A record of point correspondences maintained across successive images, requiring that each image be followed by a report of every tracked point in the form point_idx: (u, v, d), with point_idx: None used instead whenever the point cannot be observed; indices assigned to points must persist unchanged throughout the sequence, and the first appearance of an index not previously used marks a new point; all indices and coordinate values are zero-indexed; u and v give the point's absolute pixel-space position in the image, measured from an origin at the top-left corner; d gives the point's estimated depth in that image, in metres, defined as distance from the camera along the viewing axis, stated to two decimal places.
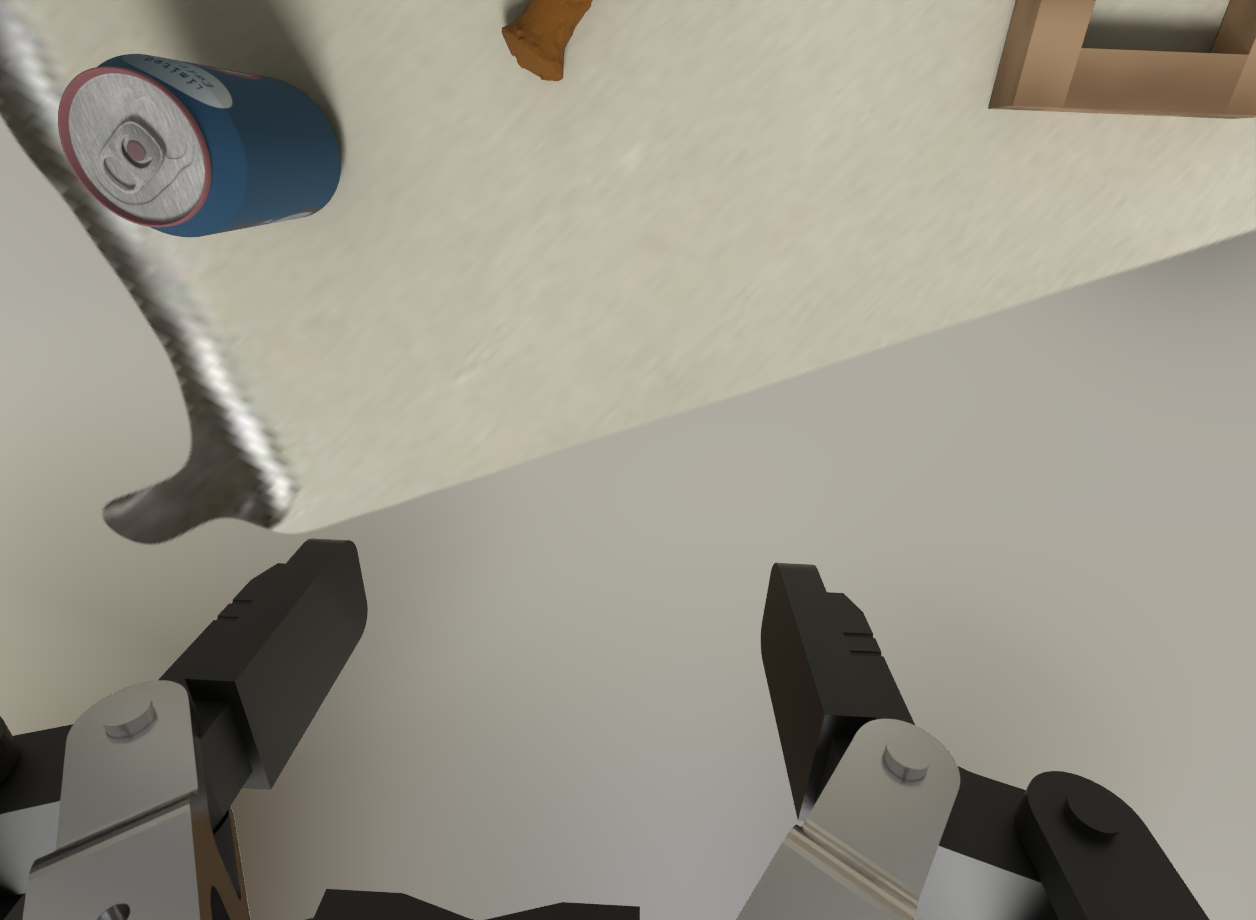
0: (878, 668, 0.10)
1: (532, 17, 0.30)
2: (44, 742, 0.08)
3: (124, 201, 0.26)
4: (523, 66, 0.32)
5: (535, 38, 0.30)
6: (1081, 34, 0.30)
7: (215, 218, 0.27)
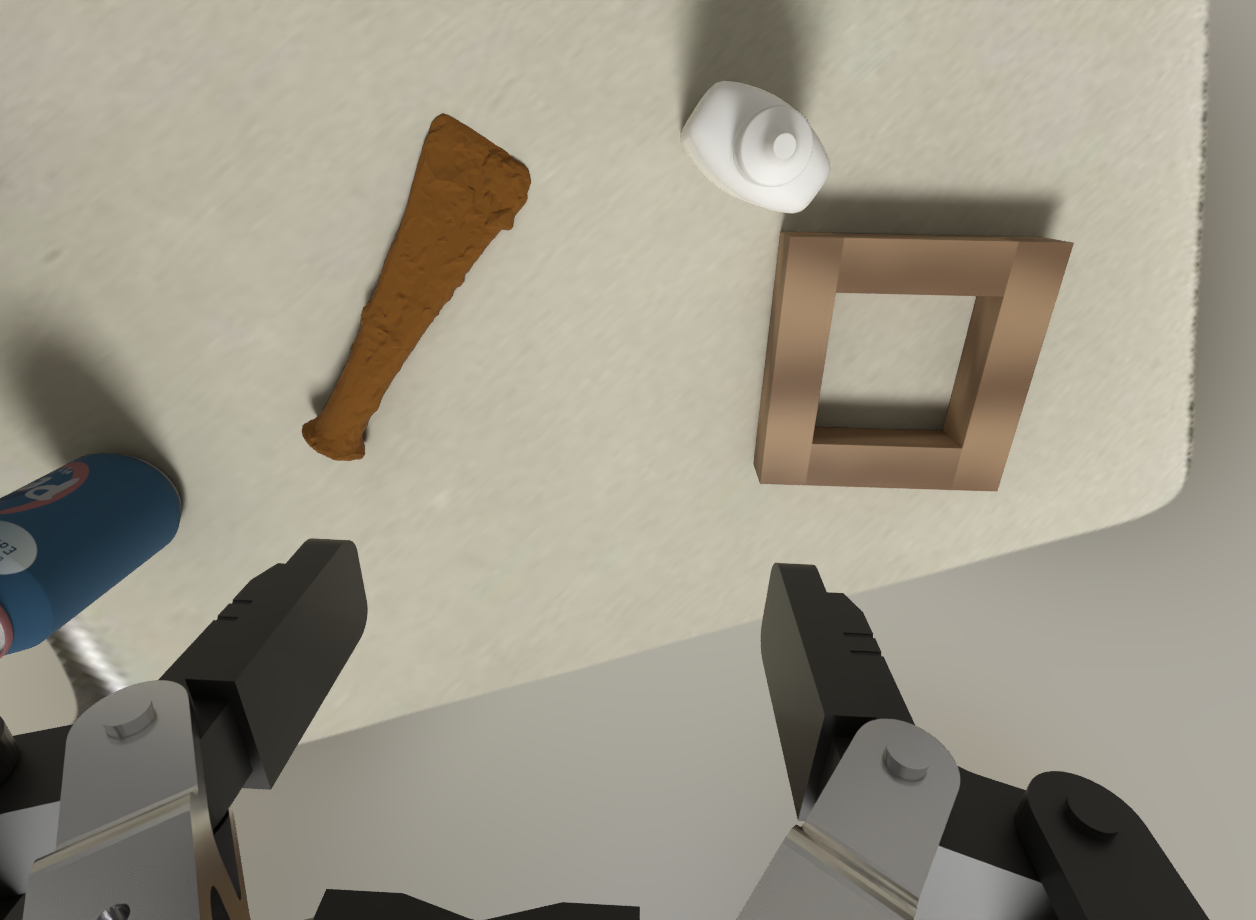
0: (878, 668, 0.10)
1: (324, 425, 0.34)
2: (44, 742, 0.08)
3: None
4: None
5: (327, 443, 0.34)
6: (809, 434, 0.33)
7: (26, 646, 0.31)
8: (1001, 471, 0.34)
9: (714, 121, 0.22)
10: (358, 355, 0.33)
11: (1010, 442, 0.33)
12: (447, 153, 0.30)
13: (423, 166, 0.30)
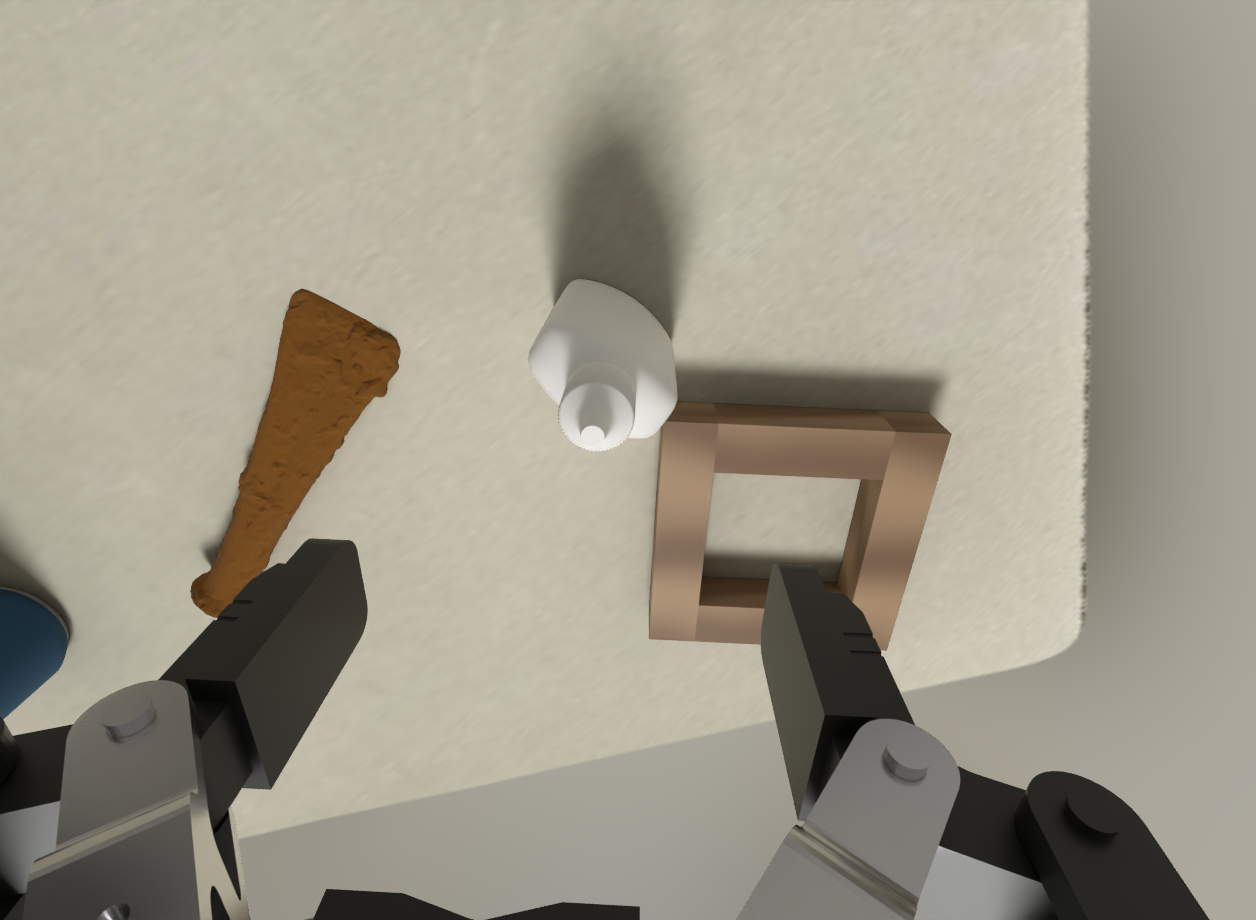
0: (878, 668, 0.10)
1: (211, 585, 0.34)
2: (44, 742, 0.08)
3: None
4: None
5: (215, 604, 0.34)
6: (695, 597, 0.33)
7: None
8: (890, 633, 0.33)
9: (547, 363, 0.21)
10: (239, 521, 0.32)
11: (897, 608, 0.33)
12: (309, 328, 0.29)
13: (285, 341, 0.29)
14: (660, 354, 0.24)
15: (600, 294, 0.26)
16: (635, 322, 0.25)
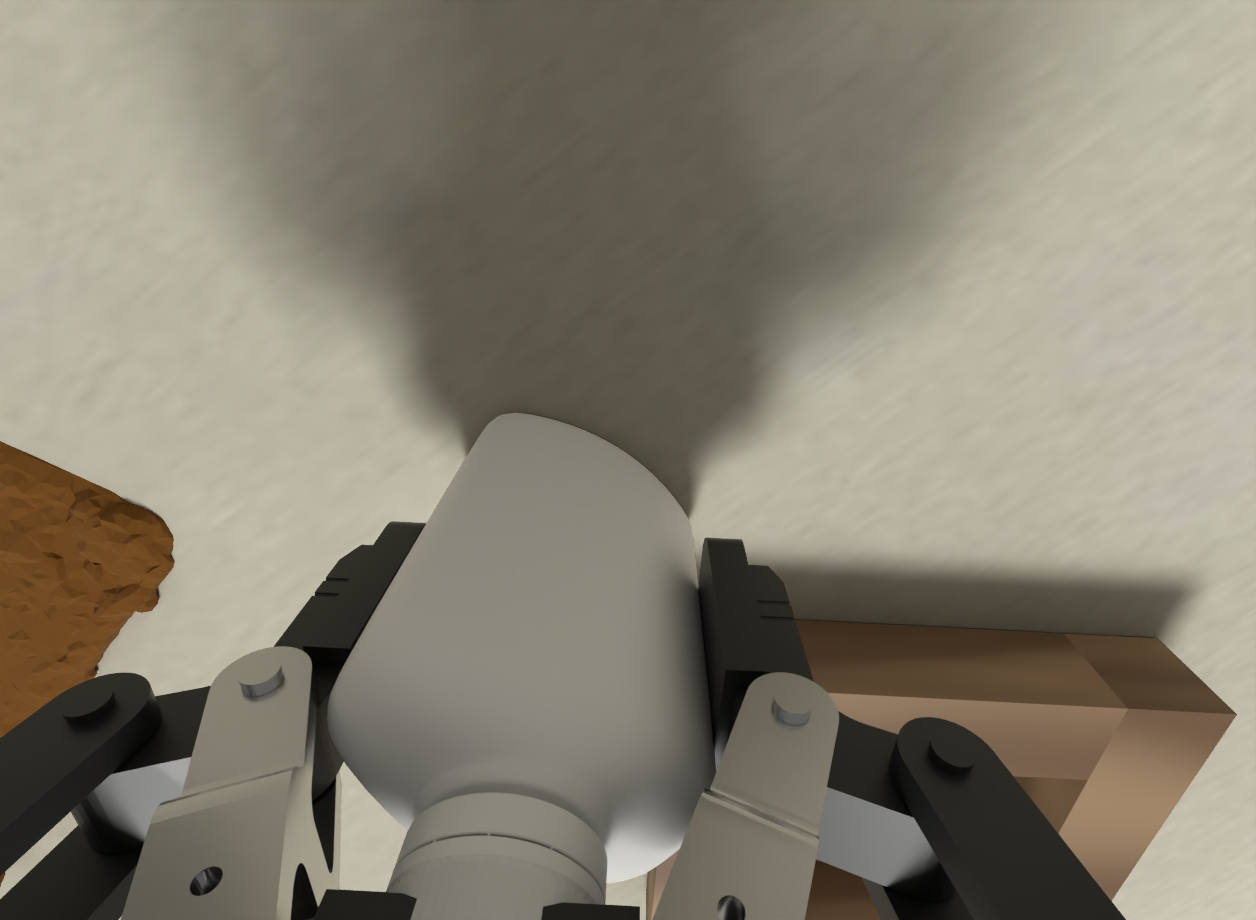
0: (788, 631, 0.10)
1: None
2: (180, 702, 0.08)
3: None
4: None
5: None
6: None
7: None
8: None
9: (363, 754, 0.08)
10: None
11: None
12: None
13: None
14: (673, 637, 0.10)
15: (543, 466, 0.12)
16: (616, 546, 0.11)
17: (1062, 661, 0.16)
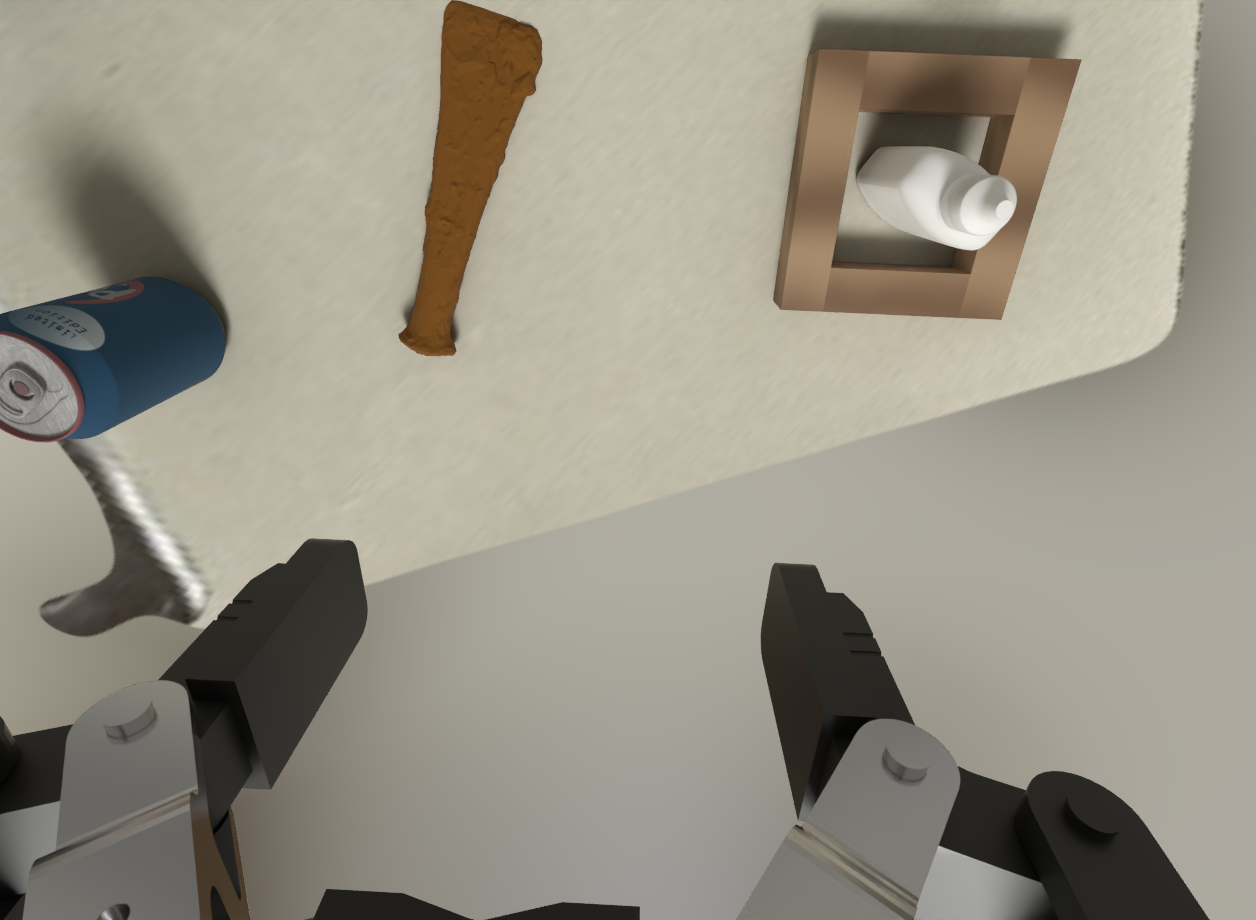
0: (878, 668, 0.10)
1: (416, 325, 0.38)
2: (44, 742, 0.08)
3: (15, 421, 0.32)
4: None
5: (423, 340, 0.38)
6: (829, 258, 0.35)
7: (93, 429, 0.33)
8: (1006, 298, 0.36)
9: (925, 180, 0.29)
10: (431, 251, 0.37)
11: (1015, 268, 0.35)
12: (463, 36, 0.33)
13: (446, 55, 0.33)
14: None
15: None
16: None
17: None
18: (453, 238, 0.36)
